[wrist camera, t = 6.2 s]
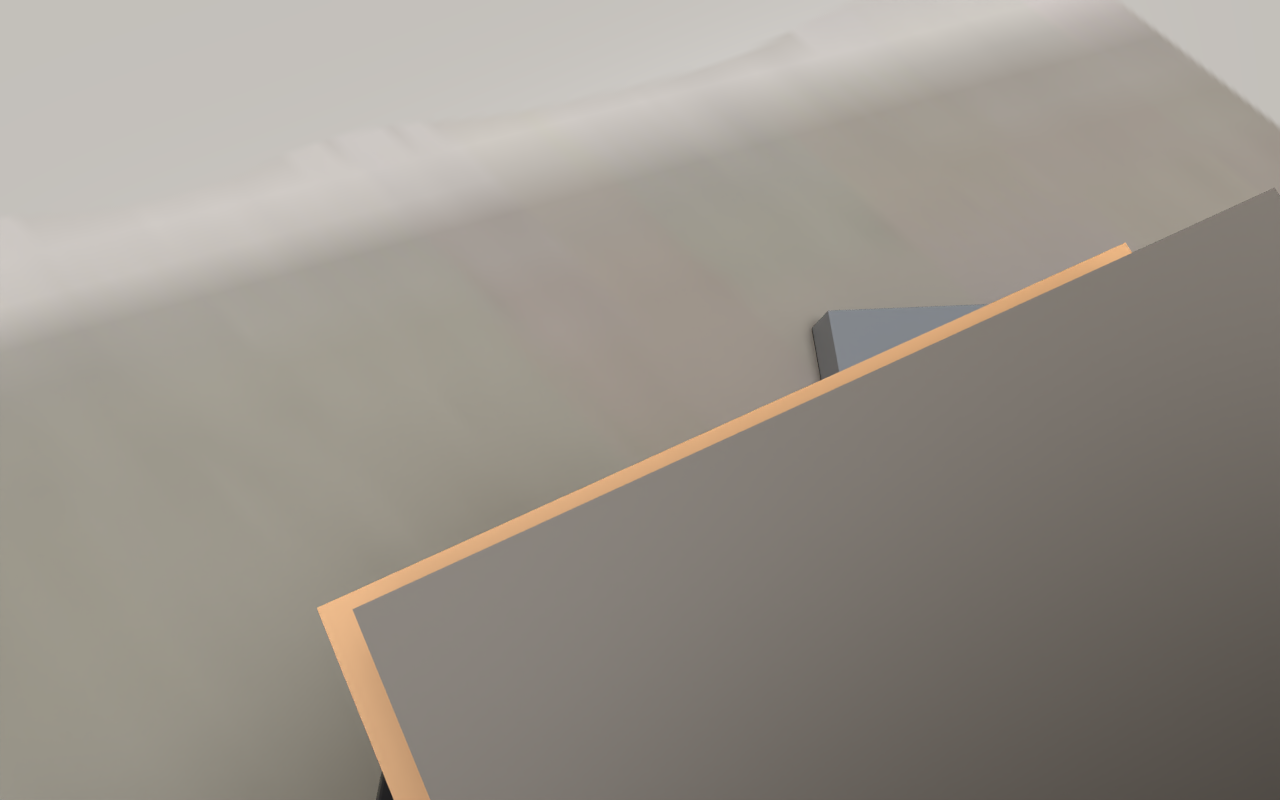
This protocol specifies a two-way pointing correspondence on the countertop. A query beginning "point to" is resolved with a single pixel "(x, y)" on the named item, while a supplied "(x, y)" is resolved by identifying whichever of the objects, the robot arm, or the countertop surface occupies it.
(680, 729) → the block
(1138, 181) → the countertop surface
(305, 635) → the countertop surface
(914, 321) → the jig cradle
